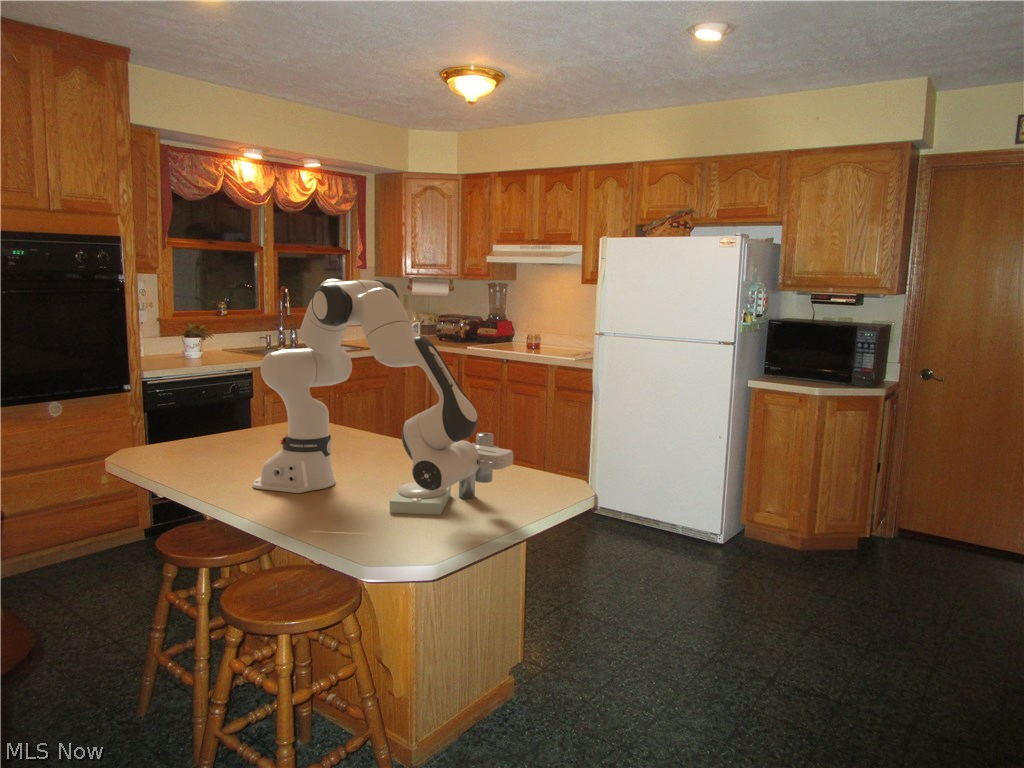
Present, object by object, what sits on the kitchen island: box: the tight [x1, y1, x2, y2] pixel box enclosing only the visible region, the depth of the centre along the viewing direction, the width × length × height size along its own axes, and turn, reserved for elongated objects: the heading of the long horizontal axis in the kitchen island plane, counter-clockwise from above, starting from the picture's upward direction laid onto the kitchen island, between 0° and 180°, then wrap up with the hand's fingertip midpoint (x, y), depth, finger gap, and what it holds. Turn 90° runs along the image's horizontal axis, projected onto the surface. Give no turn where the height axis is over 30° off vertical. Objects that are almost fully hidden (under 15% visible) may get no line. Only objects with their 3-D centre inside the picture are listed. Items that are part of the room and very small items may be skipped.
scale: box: [389, 482, 452, 516], centre depth 187 cm, size 13×16×4 cm
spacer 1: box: [458, 473, 476, 500], centre depth 193 cm, size 4×4×12 cm
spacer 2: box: [475, 432, 495, 484], centre depth 181 cm, size 4×4×12 cm
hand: (486, 447), depth 182 cm, fingers closed on spacer 2, 4 cm apart
